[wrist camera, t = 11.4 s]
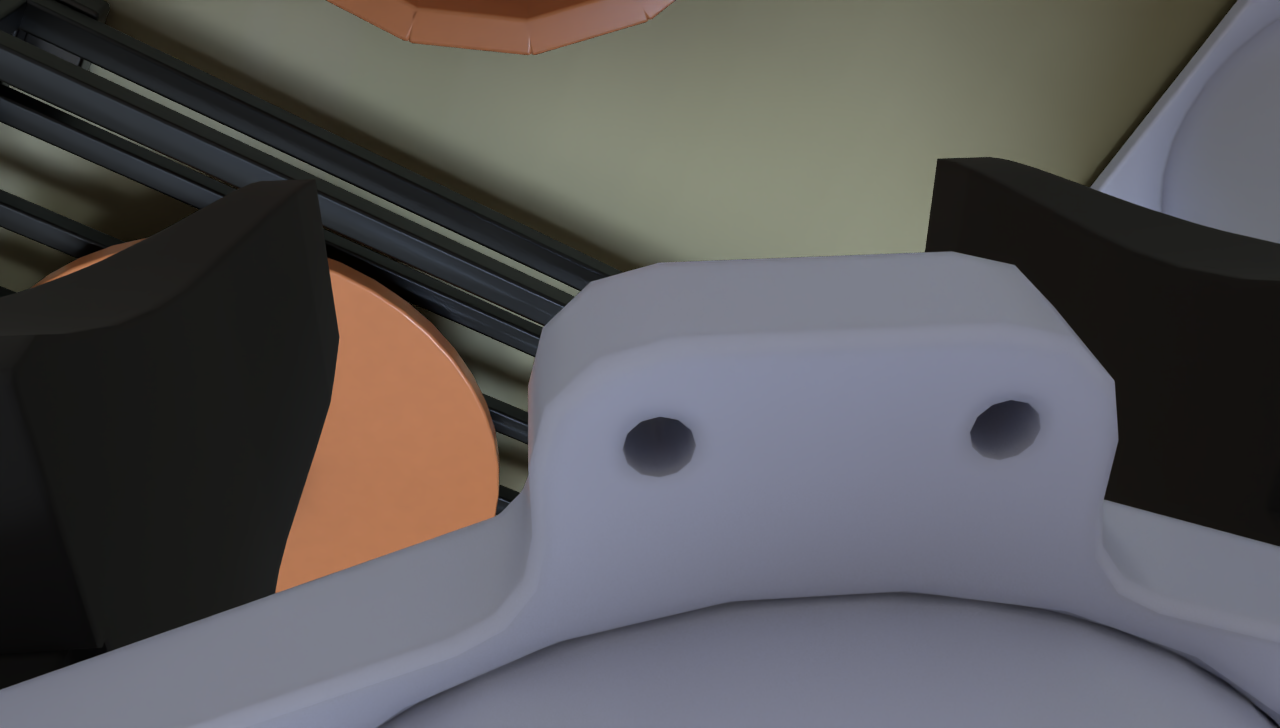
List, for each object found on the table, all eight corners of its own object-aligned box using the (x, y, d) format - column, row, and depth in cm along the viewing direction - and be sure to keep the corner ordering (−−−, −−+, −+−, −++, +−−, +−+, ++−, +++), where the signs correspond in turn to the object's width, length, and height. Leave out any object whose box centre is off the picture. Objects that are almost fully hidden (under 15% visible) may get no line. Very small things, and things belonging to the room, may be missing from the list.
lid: (588, 356, 24) (601, 494, 20) (379, 692, 29) (355, 860, 25) (65, 122, 21) (-46, 230, 17) (-82, 542, 25) (-198, 708, 21)
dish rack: (936, 402, 28) (1036, 583, 22) (642, 771, 34) (665, 987, 28) (24, -40, 21) (-151, 63, 16) (-149, 513, 27) (-321, 729, 22)
